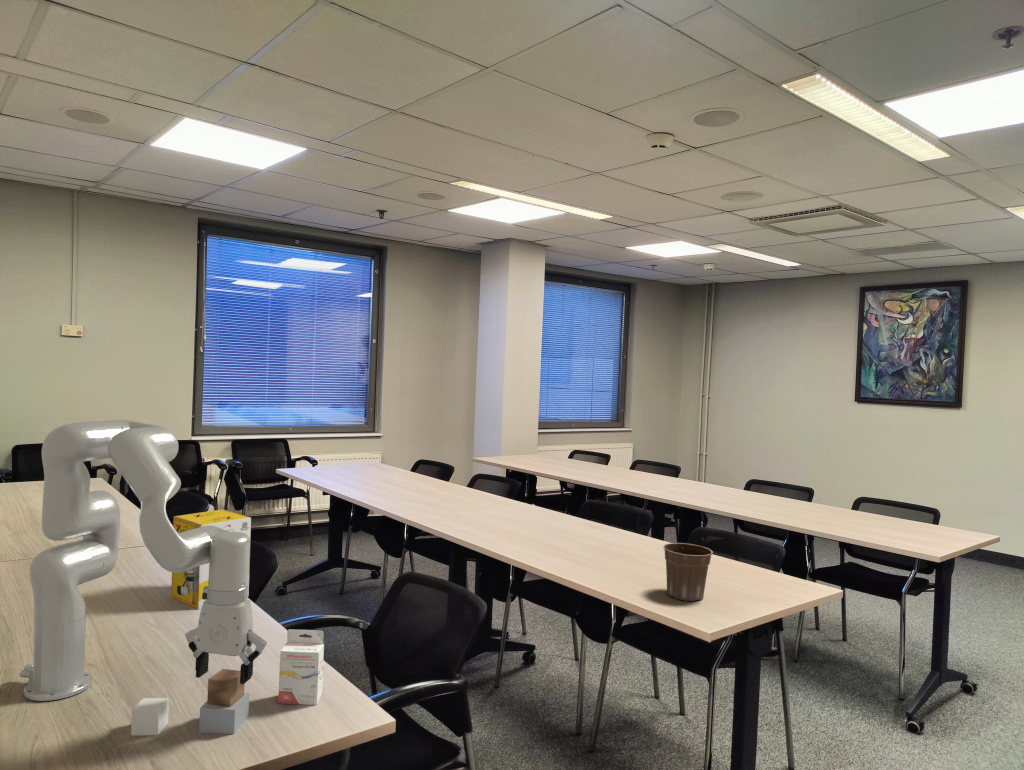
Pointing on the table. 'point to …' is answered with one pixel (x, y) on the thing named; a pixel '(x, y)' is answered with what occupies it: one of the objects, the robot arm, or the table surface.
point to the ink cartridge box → (301, 668)
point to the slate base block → (224, 716)
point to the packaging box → (194, 580)
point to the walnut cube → (225, 688)
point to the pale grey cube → (150, 716)
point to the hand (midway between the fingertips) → (223, 677)
